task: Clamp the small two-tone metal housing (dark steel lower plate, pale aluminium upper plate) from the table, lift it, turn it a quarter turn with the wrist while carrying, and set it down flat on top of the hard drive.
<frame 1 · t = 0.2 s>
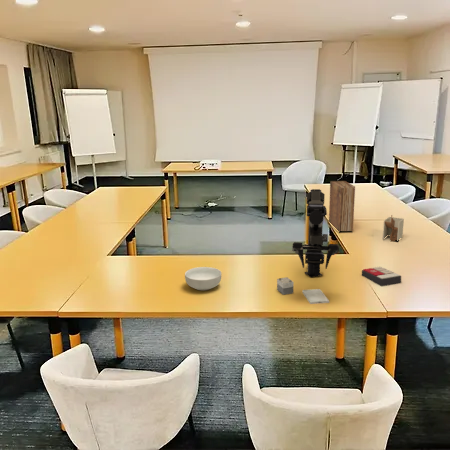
hand: (314, 268, 184), 15 cm above the table, tool tilted 30°, fingers open, 9 cm apart
cereal bowl: (203, 287, 205), on the table
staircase: (392, 240, 271), on the table
housing: (285, 291, 198), on the table
brown wooden block: (340, 228, 298), on the table
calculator: (380, 280, 210), on the table
hard drive: (315, 298, 191), on the table
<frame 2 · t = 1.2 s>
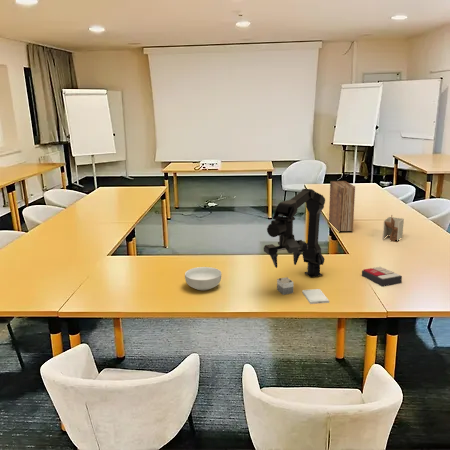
hand: (285, 266, 195), 12 cm above the table, tool pointing down, fingers open, 9 cm apart
nothing on the table moved.
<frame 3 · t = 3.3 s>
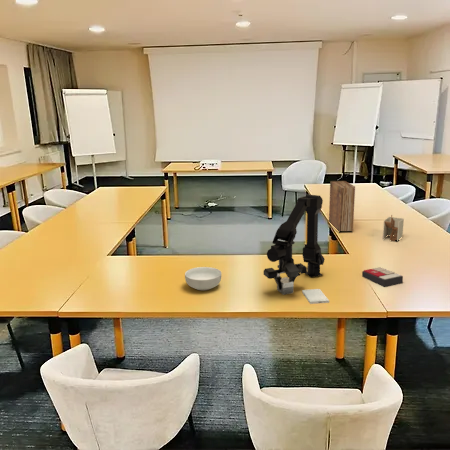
hand: (285, 288, 198), 1 cm above the table, tool pointing down, fingers closed on housing, 5 cm apart
housing: (285, 291, 198), on the table, touching gripper
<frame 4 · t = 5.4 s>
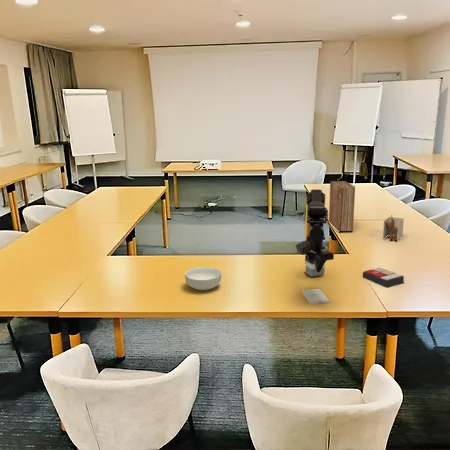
hand: (315, 270, 188), 13 cm above the table, tool pointing down, fingers closed on housing, 5 cm apart
housing: (314, 273, 188), point 11 cm above the table, touching gripper
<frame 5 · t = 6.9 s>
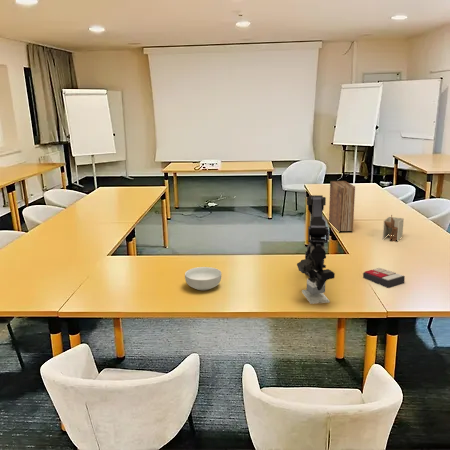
hand: (316, 287, 190), 4 cm above the table, tool pointing down, fingers closed on housing, 5 cm apart
housing: (315, 291, 190), point 3 cm above the table, touching gripper
when the fingers open (4 cm above the table, at t = 7.8 s): housing drops 2 cm, resting on hard drive.
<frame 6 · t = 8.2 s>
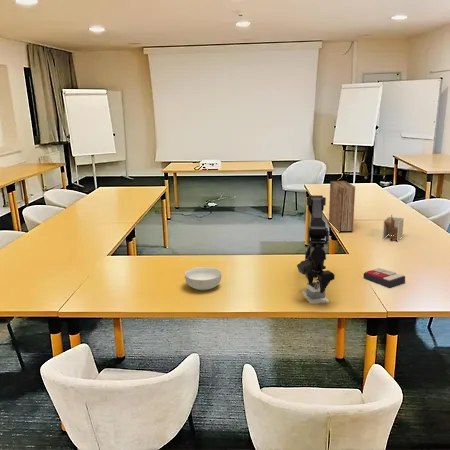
hand: (316, 289, 190), 4 cm above the table, tool pointing down, fingers open, 9 cm apart
housing: (315, 296, 190), point 1 cm above the table, touching hard drive
hard drive: (315, 299, 192), on the table, touching housing
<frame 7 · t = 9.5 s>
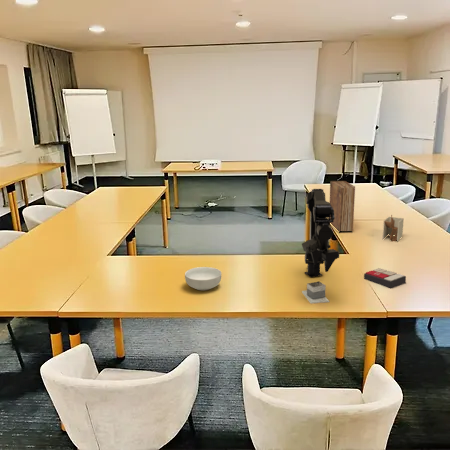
hand: (320, 268, 191), 12 cm above the table, tool pointing down, fingers open, 9 cm apart
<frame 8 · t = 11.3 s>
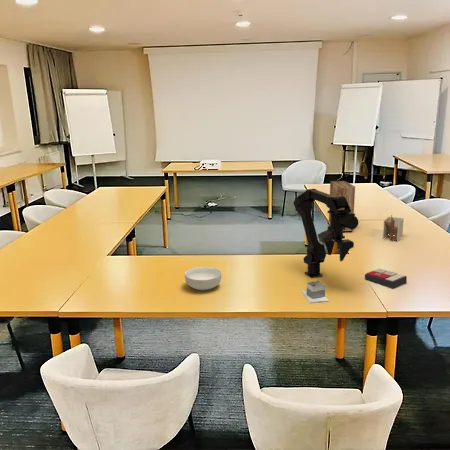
hand: (335, 258, 200), 13 cm above the table, tool pointing down, fingers open, 9 cm apart
at the end: housing inside the target area on the hard drive (0.5 cm from its centre), point 1.7 cm above the hard drive's base; housing tilted 0°; the gripper is holding nothing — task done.
